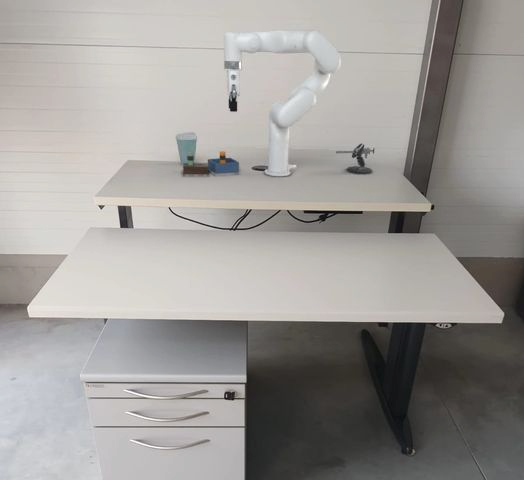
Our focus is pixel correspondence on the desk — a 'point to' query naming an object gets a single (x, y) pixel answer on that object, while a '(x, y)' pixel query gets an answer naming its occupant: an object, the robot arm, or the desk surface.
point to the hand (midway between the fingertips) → (232, 110)
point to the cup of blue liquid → (186, 145)
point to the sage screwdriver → (190, 158)
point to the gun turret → (359, 159)
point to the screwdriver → (222, 157)
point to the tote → (223, 166)
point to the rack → (195, 168)
